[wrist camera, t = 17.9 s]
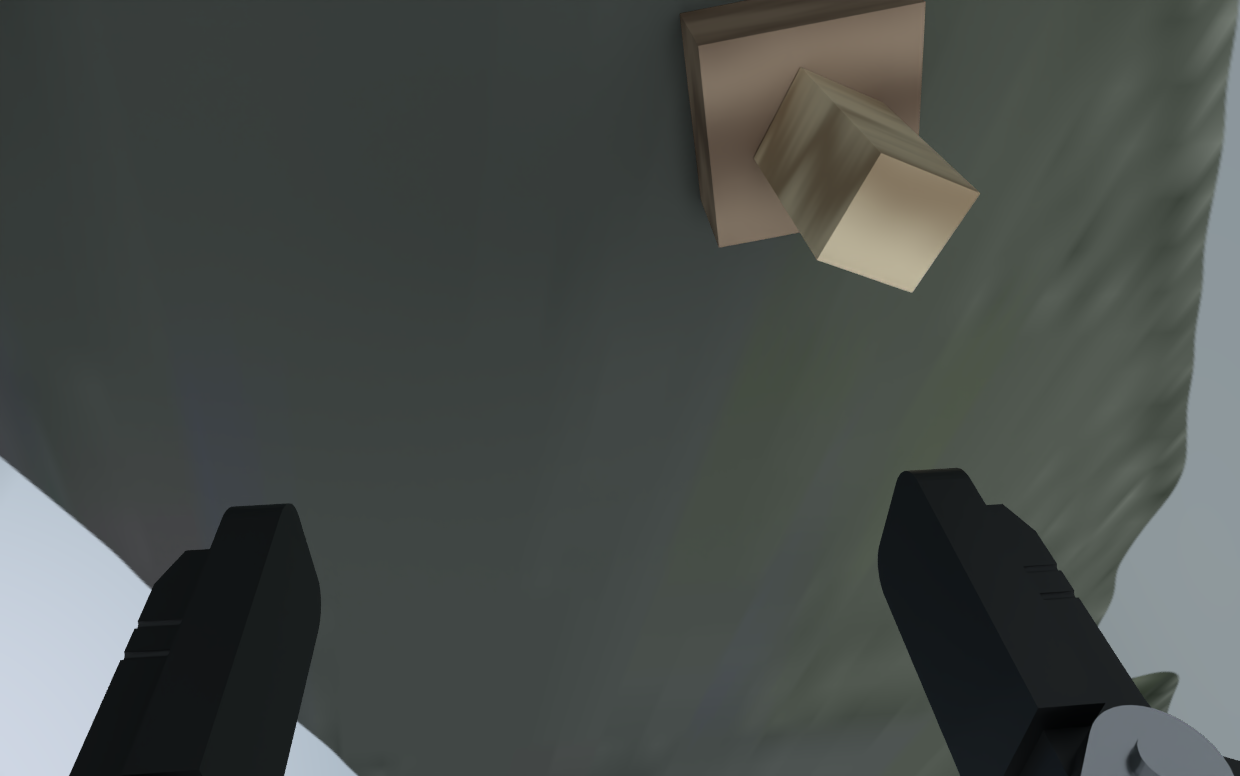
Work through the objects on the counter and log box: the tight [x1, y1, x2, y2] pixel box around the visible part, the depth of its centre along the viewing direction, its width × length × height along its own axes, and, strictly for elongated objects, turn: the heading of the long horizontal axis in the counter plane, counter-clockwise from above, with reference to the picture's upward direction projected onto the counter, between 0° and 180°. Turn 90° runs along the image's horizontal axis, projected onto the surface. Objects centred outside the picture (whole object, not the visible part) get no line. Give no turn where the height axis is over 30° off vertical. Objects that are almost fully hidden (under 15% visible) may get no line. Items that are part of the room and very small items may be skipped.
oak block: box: [754, 68, 980, 293], centre depth 36 cm, size 4×4×10 cm
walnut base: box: [680, 0, 926, 247], centre depth 43 cm, size 10×10×6 cm
